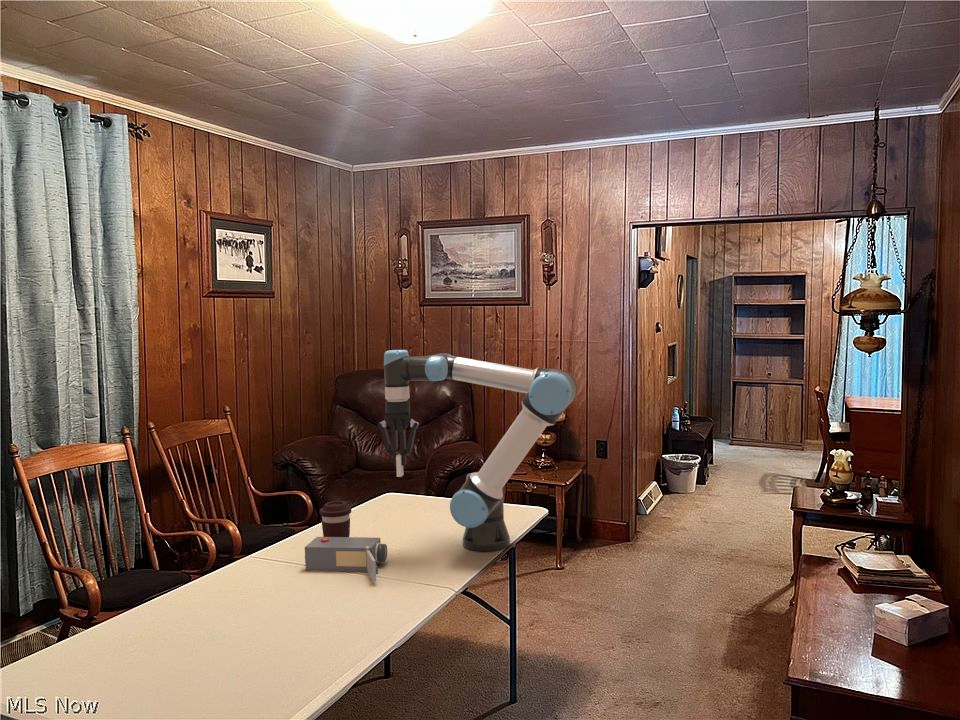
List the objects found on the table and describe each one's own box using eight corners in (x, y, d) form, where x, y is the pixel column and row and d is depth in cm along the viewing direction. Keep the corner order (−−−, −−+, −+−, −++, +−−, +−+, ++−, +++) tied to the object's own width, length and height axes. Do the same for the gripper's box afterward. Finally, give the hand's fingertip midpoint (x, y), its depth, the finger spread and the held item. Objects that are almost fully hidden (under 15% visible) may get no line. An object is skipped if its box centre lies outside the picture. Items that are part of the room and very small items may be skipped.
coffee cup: (356, 545, 233) (354, 499, 233) (347, 555, 224) (346, 507, 223) (326, 544, 234) (324, 499, 234) (316, 554, 225) (315, 507, 224)
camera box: (388, 560, 217) (387, 535, 217) (378, 573, 206) (377, 546, 206) (317, 559, 221) (316, 534, 220) (304, 571, 210) (303, 545, 209)
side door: (367, 570, 207) (366, 550, 207) (371, 569, 207) (371, 549, 207) (373, 582, 198) (372, 560, 197) (378, 581, 198) (377, 560, 198)
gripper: (420, 398, 224) (423, 473, 225) (380, 399, 226) (383, 473, 227) (415, 401, 217) (418, 478, 218) (373, 401, 218) (376, 478, 220)
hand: (400, 475), depth 223 cm, fingers closed
